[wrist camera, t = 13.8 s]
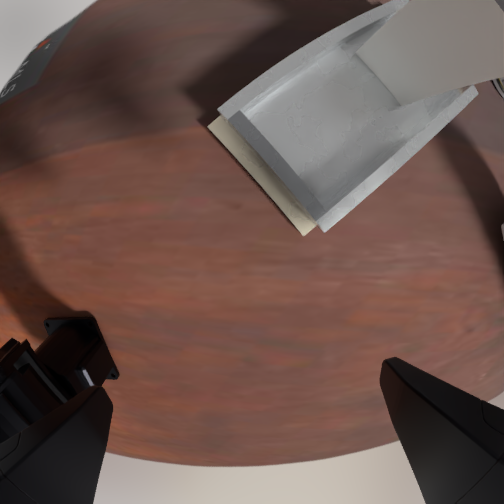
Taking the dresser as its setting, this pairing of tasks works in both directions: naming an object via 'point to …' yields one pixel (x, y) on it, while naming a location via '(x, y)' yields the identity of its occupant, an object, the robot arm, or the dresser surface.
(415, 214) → the dresser surface
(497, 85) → the supplement bottle
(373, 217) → the dresser surface
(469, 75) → the block
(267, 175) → the grey rectangular tray
